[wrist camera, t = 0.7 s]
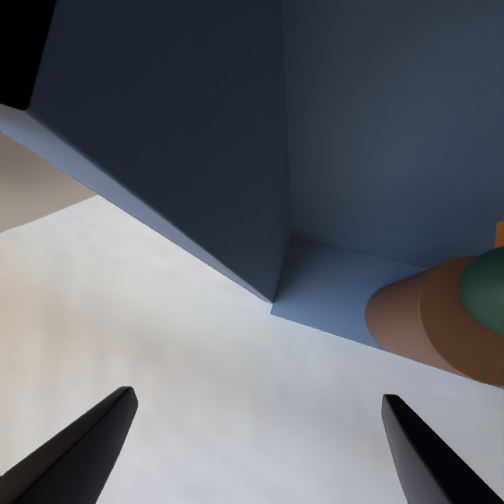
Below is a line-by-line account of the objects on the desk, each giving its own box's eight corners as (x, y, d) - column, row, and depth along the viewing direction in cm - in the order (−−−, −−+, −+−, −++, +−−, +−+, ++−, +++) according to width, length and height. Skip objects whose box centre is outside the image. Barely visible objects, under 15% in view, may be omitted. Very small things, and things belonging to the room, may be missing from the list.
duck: (435, 367, 20) (704, 455, 7) (358, 342, 21) (456, 375, 8) (447, 280, 21) (684, 217, 8) (374, 263, 23) (478, 185, 10)
